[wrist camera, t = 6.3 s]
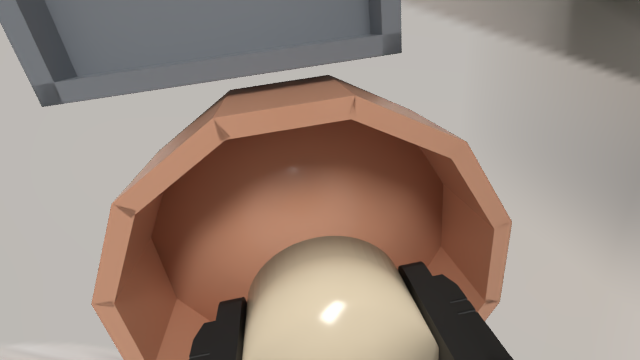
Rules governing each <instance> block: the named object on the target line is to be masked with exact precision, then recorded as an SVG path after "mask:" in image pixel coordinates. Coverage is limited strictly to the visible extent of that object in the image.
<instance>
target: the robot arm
mask: <svg viewBox="0 0 640 360" xmlns="http://www.w3.org/2000/svg"><path fill="white" fill-rule="evenodd" d="M398 272H399V273H400V275H401V277H402V279H403V281H404V283H405V285H406V287H407V288H408V290H409V292H410V294H411V296H412V298H413V300H414V302H415V303H416V305H417V307H418V309H419V311H420V313H421V315H422V316H423V318H424V320H425V322H426V324H427V326H428V328H429V330H430V331H431V333H432V335H433V337H434V339H435V341H436V343H437V345H438V347H439V360H513V358H512V357H511V356H510V355H509V354H508V352H507V351H506V349H505V348H504V347H503V345H502V344H501V343H500V341H499V340H498V339H497V337H496V336H495V335H494V333H493V332H492V331H491V329H490V328H489V327H488V325H487V324H486V323H485V321H484V320H483V319H482V317H481V316H480V315H479V313H478V312H476V310H475V308H474V306H473V305H472V304H471V302H470V301H469V300H467V297H466V296H465V294H464V293H463V292H462V290H461V289H460V288H459V286H458V285H457V284H456V283H454V282H453V281H452V280H450V279H449V278H447V277H446V276H444V275H443V274H440V275H436V276H432V274H431V273H430V271H429V270H428V268H427V267H426V265H425V264H424V263H423V262H422V261H419V262H414V263H409V264H405V265H400V266H399V267H398ZM246 307H247V301H246V299H245V297H240V298H235V299H230V300H225V301H221V302H220V303H219V305H218V310H217V316H216V321H211V322H207V323H204V324H203V325H202V327H201V328H200V330H199V331H198V333H197V334H196V336H195V337H194V339H193V342H192V347H191V351H190V355H189V360H242V354H243V342H244V330H245V319H246Z"/></svg>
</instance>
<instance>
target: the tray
mask: <svg viewBox="0 0 640 360" xmlns="http://www.w3.org/2000/svg"><path fill="white" fill-rule="evenodd" d="M0 23H1V25H2V27H3V29H4V31H5V33H6V35H7V37H8V39H9V41H10V43H11V45H12V47H13V49H14V51H15V53H16V55H17V57H18V59H19V61H20V63H21V65H22V67H23V69H24V71H25V73H26V75H27V77H28V79H29V81H30V83H31V85H32V87H33V89H34V91H35V93H36V95H37V97H38V99H39V101H40V104H41V106H42V107H44V106H51V105H58V104H64V103H70V102H78V101H84V100H91V99H98V98H104V97H111V96H118V95H124V94H131V93H138V92H144V91H151V90H158V89H164V88H171V87H177V86H184V85H191V84H197V83H204V82H211V81H217V80H224V79H231V78H237V77H244V76H251V75H257V74H264V73H270V72H277V71H284V70H291V69H297V68H304V67H310V66H317V65H324V64H330V63H337V62H344V61H351V60H357V59H363V58H371V57H377V56H384V55H390V54H397V53H401V52H402V51H401V50H402V49H401V0H0Z"/></svg>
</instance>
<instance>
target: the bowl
mask: <svg viewBox="0 0 640 360" xmlns="http://www.w3.org/2000/svg"><path fill="white" fill-rule="evenodd" d="M511 225H512V221H511V219H510V218H509V216H508V214H507V212H506V210H505V209H504V207H503V205H502V203H501V202H500V200H499V198H498V196H497V194H496V193H495V191H494V189H493V187H492V186H491V184H490V182H489V181H488V179H487V177H486V175H485V173H484V171H483V170H482V168H481V166H480V165H479V163H478V161H477V159H476V157H475V156H474V154H473V152H472V150H471V148H470V147H469V145H468V143H467V142H466V141H464V140H462V139H461V138H459V137H457V136H455V135H454V134H452V133H450V132H448V131H446V130H445V129H443V128H441V127H440V126H438V125H436V124H434V123H433V122H431V121H429V120H427V119H426V118H424V117H422V116H420V115H419V114H417V113H415V112H413V111H412V110H410V109H407V108H405V107H402V106H400V105H398V104H395V103H393V102H391V101H388V100H386V99H384V98H381V97H379V96H377V95H374V94H372V93H370V92H367V91H365V90H363V89H360V88H358V87H356V86H353V85H351V84H349V83H346V82H344V81H342V80H339V79H337V78H335V77H332V76H330V75H326V76H319V77H312V78H306V79H299V80H293V81H286V82H279V83H273V84H266V85H260V86H253V87H247V88H241V89H234V90H230V91H229V92H227V93H226V94H225V95H224V96H223V97H222V98H220V99H219V100H218V101H217V102H216V103H215V104H213V105H212V106H211V107H210V108H209V109H207V110H206V111H205V112H204V113H203V114H202V115H200V116H199V117H198V118H197V119H196V120H195V121H193V122H192V123H191V124H190V125H189V126H188V127H186V128H185V129H184V130H183V131H182V132H181V133H179V134H178V135H177V136H176V137H175V138H174V139H172V140H171V141H170V142H169V143H168V144H167V145H165V146H164V147H163V148H162V149H161V150H160V151H159V152H158V153H157V154H156V155H155V156H154V157H153V158H152V160H150V162H149V163H148V164H147V165H146V166H145V167H144V169H142V171H141V172H140V173H139V174H138V175H137V176H136V177H135V178H134V179H133V181H132V182H131V183H130V184H129V185H128V186H127V187H126V188H125V189H124V191H123V192H122V193H121V194H120V195H119V196H118V197H117V198H116V199H115V201H114V202H113V203H112V205H111V209H110V215H109V219H108V224H107V229H106V235H105V240H104V244H103V249H102V254H101V259H100V264H99V269H98V274H97V279H96V284H95V289H94V294H93V299H92V306H93V308H94V309H95V311H96V313H97V315H98V316H99V318H100V320H101V321H102V323H103V325H104V327H105V328H106V330H107V332H108V333H109V335H110V337H111V338H112V340H113V342H114V344H115V345H116V347H117V349H118V351H119V352H120V354H121V356H122V357H123V359H124V360H189V355H190V351H191V347H192V342H193V339H194V337H195V336H196V334H197V333H198V331H199V330H200V328H201V327H202V325H203V324H204V323H207V322H211V321H216V316H217V310H218V305H219V303H220V302H221V301H225V300H230V299H235V298H240V297H245V299H246V301H247V298H248V292H249V289H250V286H251V283H252V281H253V279H254V278H255V276H256V274H257V273H258V272H259V270H260V269H261V268H262V267H263V266H264V264H265V263H266V262H267V261H268V260H270V259H271V258H272V257H273V256H274V255H276V254H277V253H279V252H280V251H282V250H284V249H285V248H287V247H289V246H291V245H293V244H296V243H298V242H301V241H304V240H308V239H312V238H316V237H323V236H346V237H352V238H357V239H361V240H363V241H366V242H369V243H371V244H373V245H375V246H376V247H378V248H379V249H381V250H382V251H384V252H385V253H386V254H387V255H388V256H389V257H390V259H391V260H392V261H393V263H394V264H395V266H396V268H397V270H398V267H399V266H400V265H405V264H409V263H414V262H419V261H422V262H423V263H424V264H425V265H426V267H427V268H428V270H429V271H430V273H431V274H432V276H436V275H440V274H443V275H444V276H446V277H447V278H449V279H450V280H452V281H453V282H454V283H456V284H457V285H458V286H459V288H460V289H461V290H462V292H463V293H464V294H465V296H466V297H467V300H469V301H470V302H471V304H472V305H473V306H474V308H475V310H476V312H478V313H479V315H480V316H481V317H482V319H483V320H484V321H485V320H486V319H487V318H488V316H489V315H490V314H491V313H492V311H493V310H494V309H495V307H496V306H497V305H498V304H499V302H500V297H501V291H502V284H503V278H504V271H505V265H506V258H507V251H508V245H509V238H510V232H511Z"/></svg>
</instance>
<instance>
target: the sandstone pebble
mask: <svg viewBox="0 0 640 360" xmlns="http://www.w3.org/2000/svg"><path fill="white" fill-rule="evenodd" d="M242 360H439V347H438V345H437V343H436V341H435V339H434V337H433V335H432V333H431V331H430V330H429V328H428V326H427V324H426V322H425V320H424V318H423V316H422V315H421V313H420V311H419V309H418V307H417V305H416V303H415V302H414V300H413V298H412V296H411V294H410V292H409V290H408V288H407V287H406V285H405V283H404V281H403V279H402V277H401V275H400V273H399V272H398V270H397V268H396V266H395V264H394V263H393V261H392V260H391V259H390V257H389V256H388V255H387V254H386V253H385V252H384V251H382V250H381V249H379V248H378V247H376V246H375V245H373V244H371V243H369V242H366V241H363V240H361V239H357V238H352V237H346V236H323V237H316V238H312V239H308V240H304V241H301V242H298V243H296V244H293V245H291V246H289V247H287V248H285V249H284V250H282V251H280V252H279V253H277V254H276V255H274V256H273V257H272V258H271V259H270V260H268V261H267V262H266V263H265V264H264V266H263V267H262V268H261V269H260V270H259V272H258V273H257V274H256V276H255V278H254V279H253V281H252V283H251V286H250V289H249V292H248V298H247V307H246V319H245V330H244V342H243V354H242Z"/></svg>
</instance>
